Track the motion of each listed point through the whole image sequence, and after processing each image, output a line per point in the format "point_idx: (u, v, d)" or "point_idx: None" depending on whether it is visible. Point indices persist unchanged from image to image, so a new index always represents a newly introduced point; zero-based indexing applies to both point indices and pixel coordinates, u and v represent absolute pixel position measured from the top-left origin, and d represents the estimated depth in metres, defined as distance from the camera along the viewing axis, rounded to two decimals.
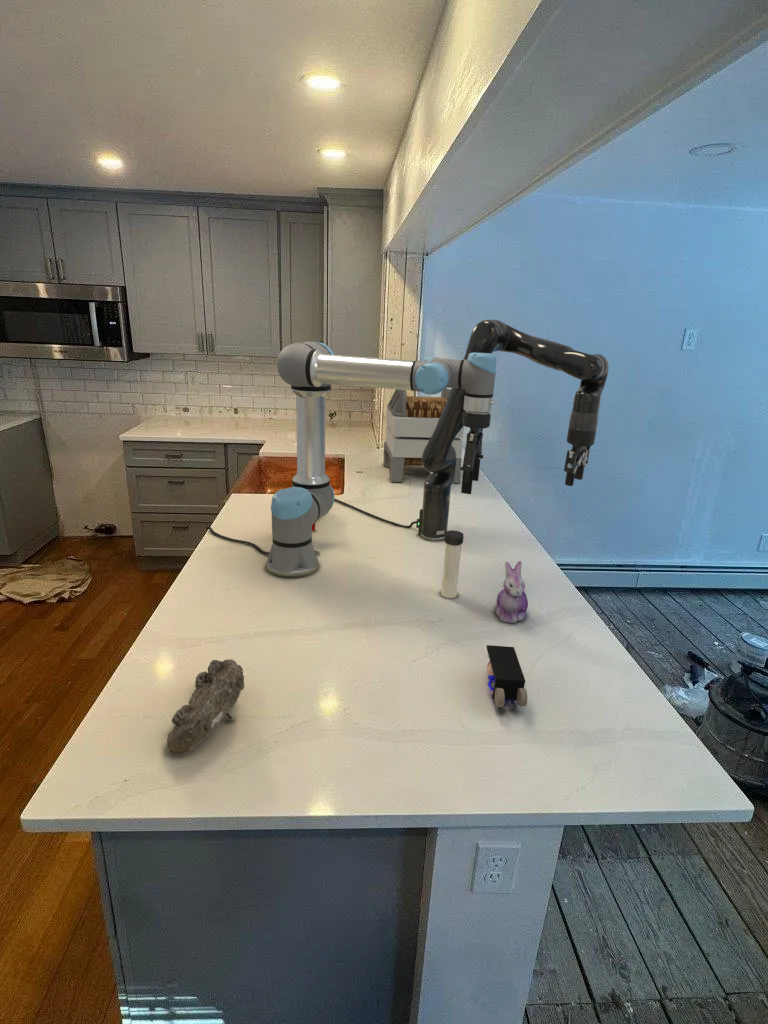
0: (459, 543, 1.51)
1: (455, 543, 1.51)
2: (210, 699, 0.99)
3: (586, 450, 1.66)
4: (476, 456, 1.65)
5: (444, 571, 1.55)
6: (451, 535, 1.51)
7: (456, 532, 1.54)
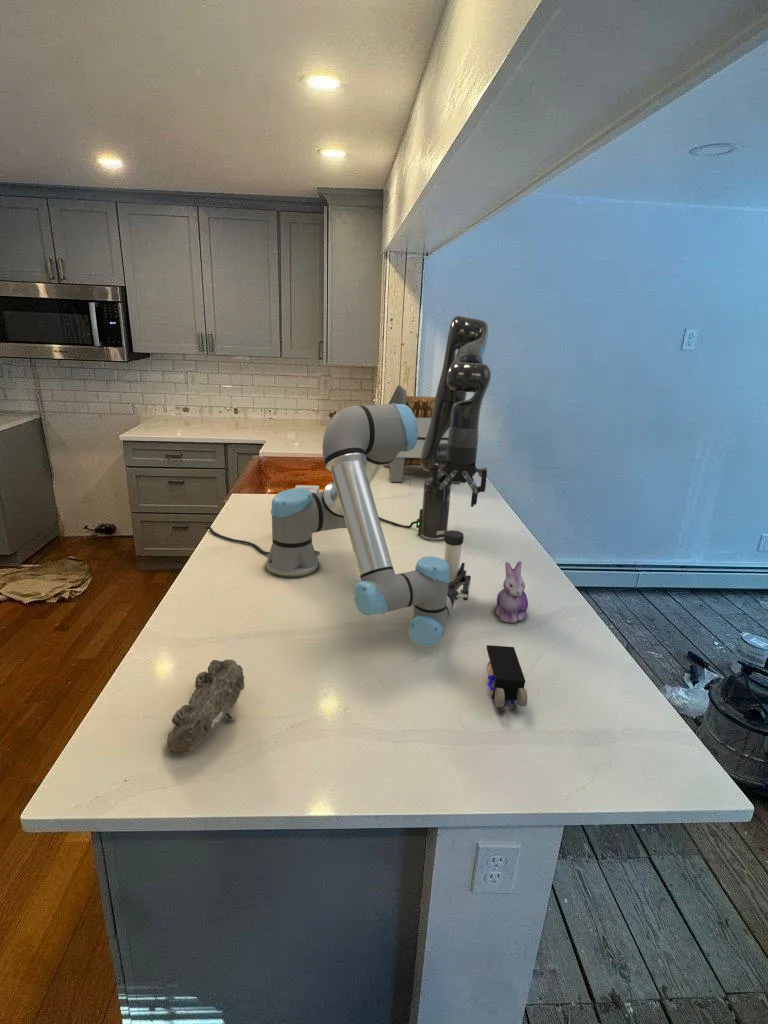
0: (459, 543, 1.51)
1: (455, 543, 1.51)
2: (210, 699, 0.99)
3: (479, 474, 1.45)
4: None
5: None
6: (451, 535, 1.51)
7: (456, 532, 1.54)
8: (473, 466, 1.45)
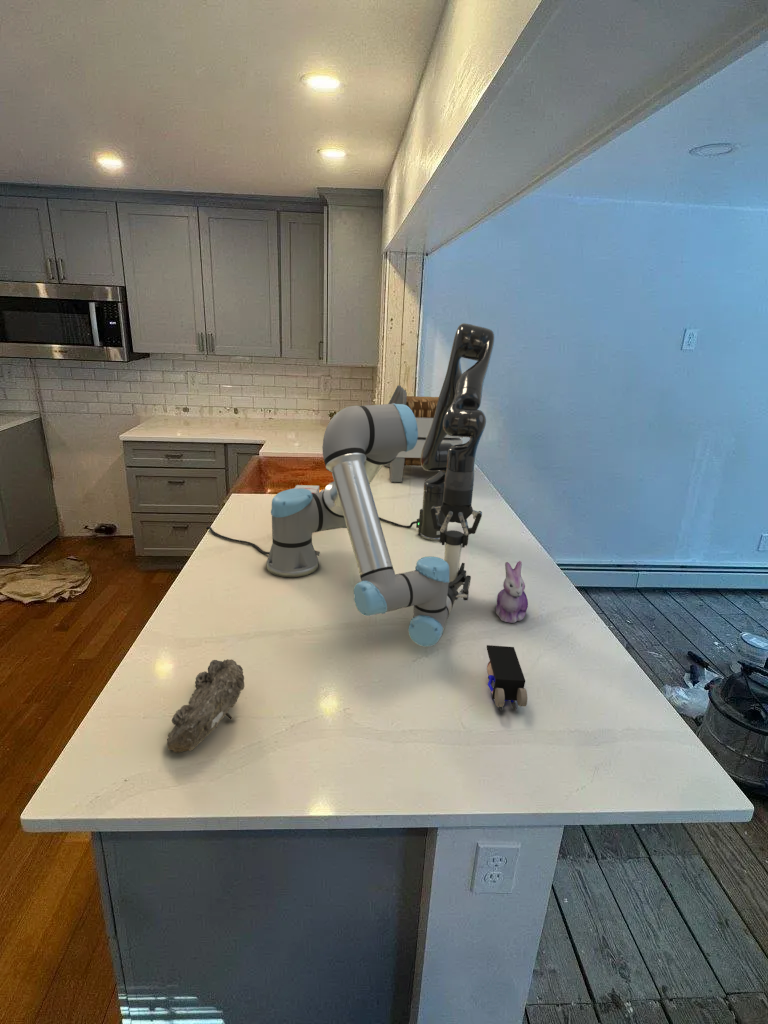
0: (459, 543, 1.51)
1: (455, 543, 1.51)
2: (210, 699, 0.99)
3: (474, 517, 1.49)
4: None
5: None
6: (451, 535, 1.51)
7: (456, 532, 1.54)
8: (469, 507, 1.48)
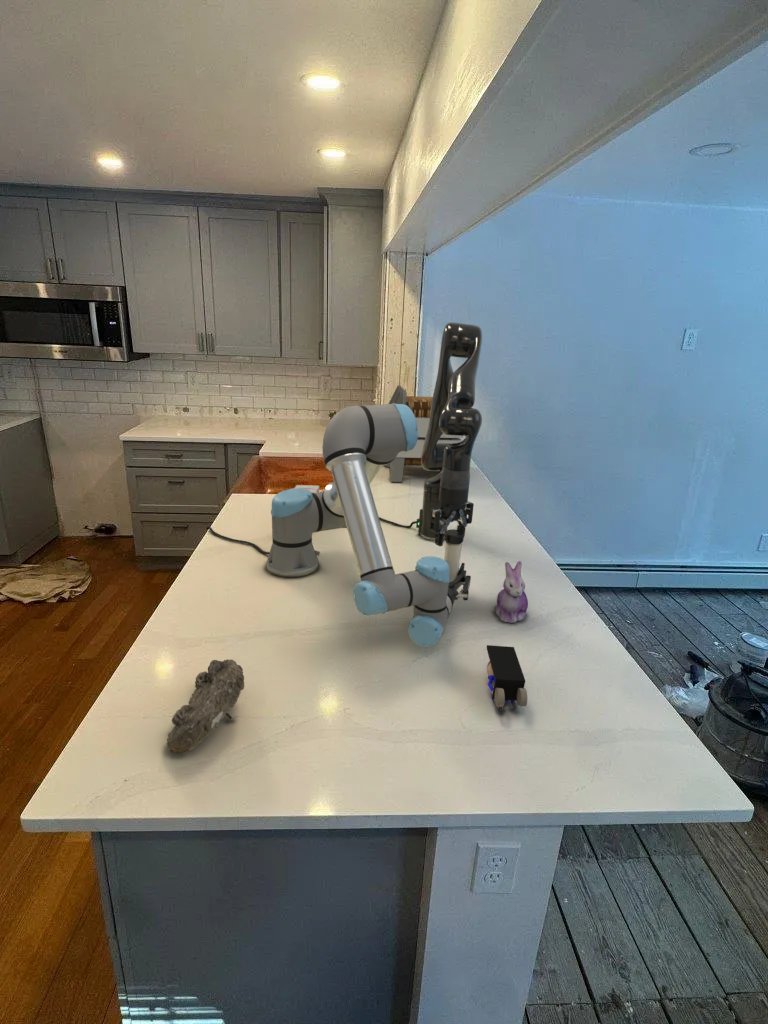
0: None
1: None
2: (210, 699, 0.99)
3: (467, 508, 1.53)
4: None
5: None
6: (460, 534, 1.52)
7: (450, 531, 1.53)
8: None
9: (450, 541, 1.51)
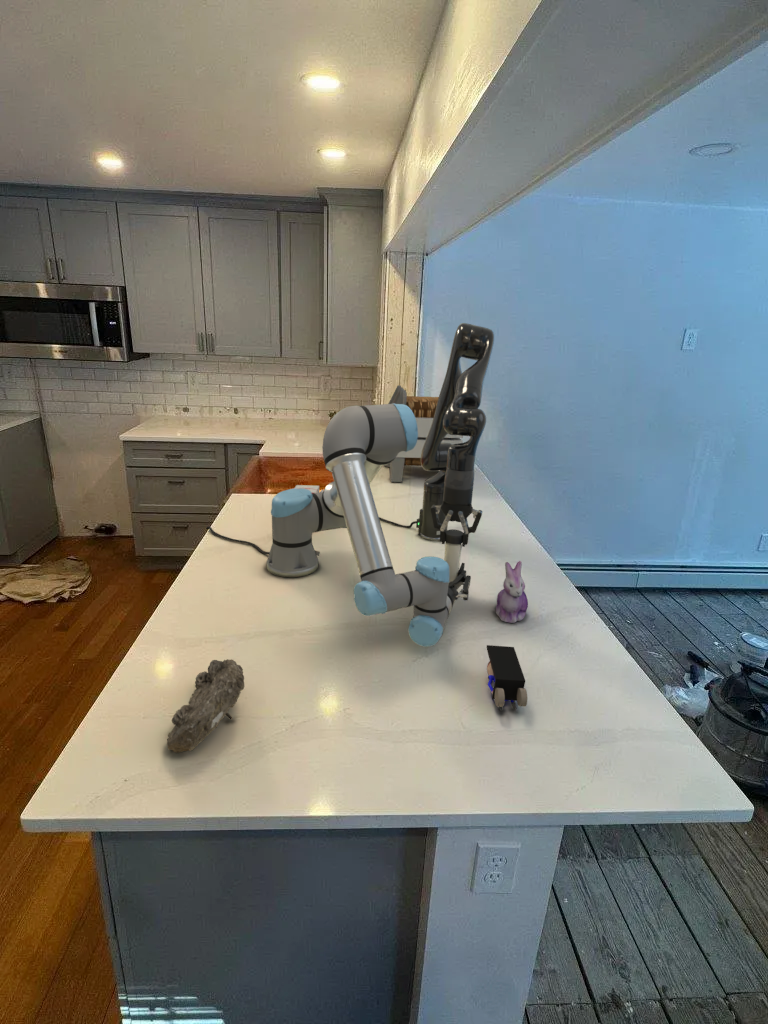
0: None
1: None
2: (210, 699, 0.99)
3: (474, 516, 1.49)
4: None
5: None
6: (460, 534, 1.52)
7: (450, 531, 1.53)
8: (469, 506, 1.48)
9: (450, 541, 1.51)
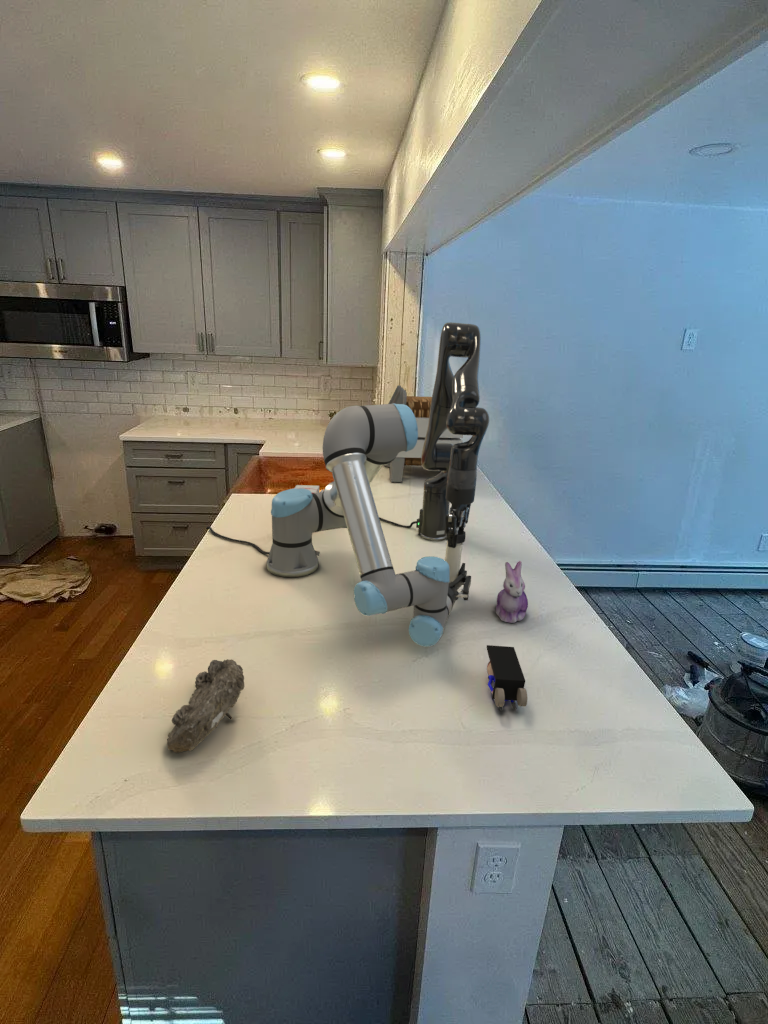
0: None
1: None
2: (210, 699, 0.99)
3: (466, 508, 1.55)
4: None
5: None
6: (460, 530, 1.54)
7: None
8: None
9: (463, 540, 1.52)
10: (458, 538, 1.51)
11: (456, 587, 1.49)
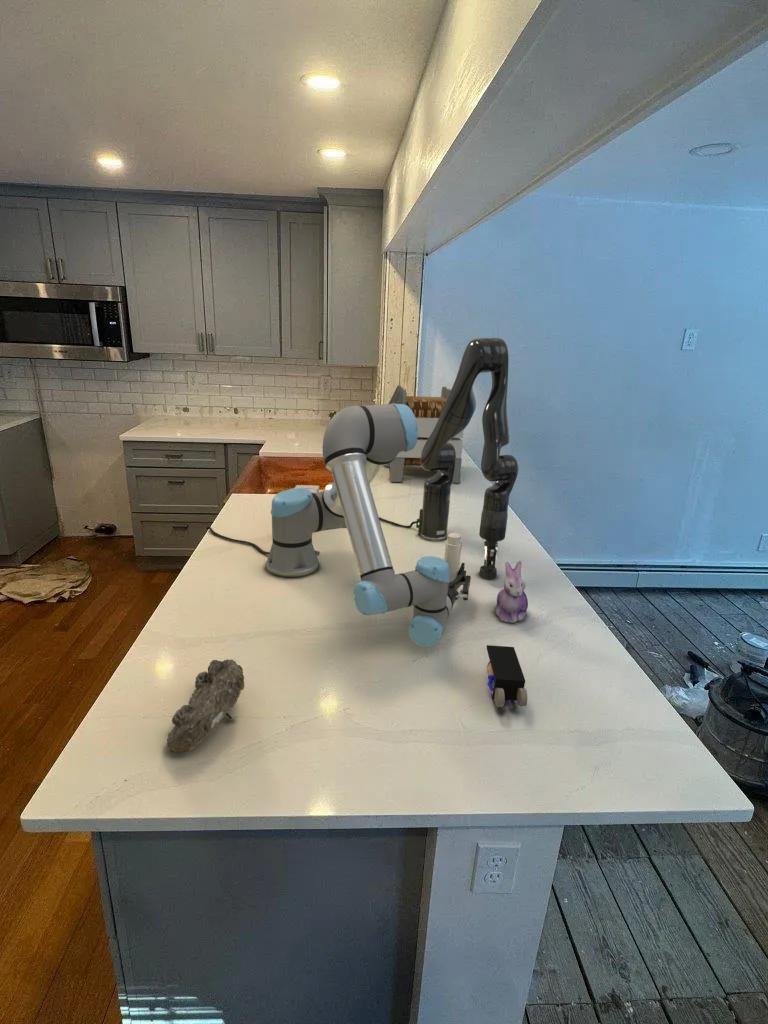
0: None
1: None
2: (210, 699, 0.99)
3: None
4: None
5: None
6: None
7: None
8: None
9: (495, 575, 1.70)
10: (493, 574, 1.69)
11: (456, 587, 1.49)
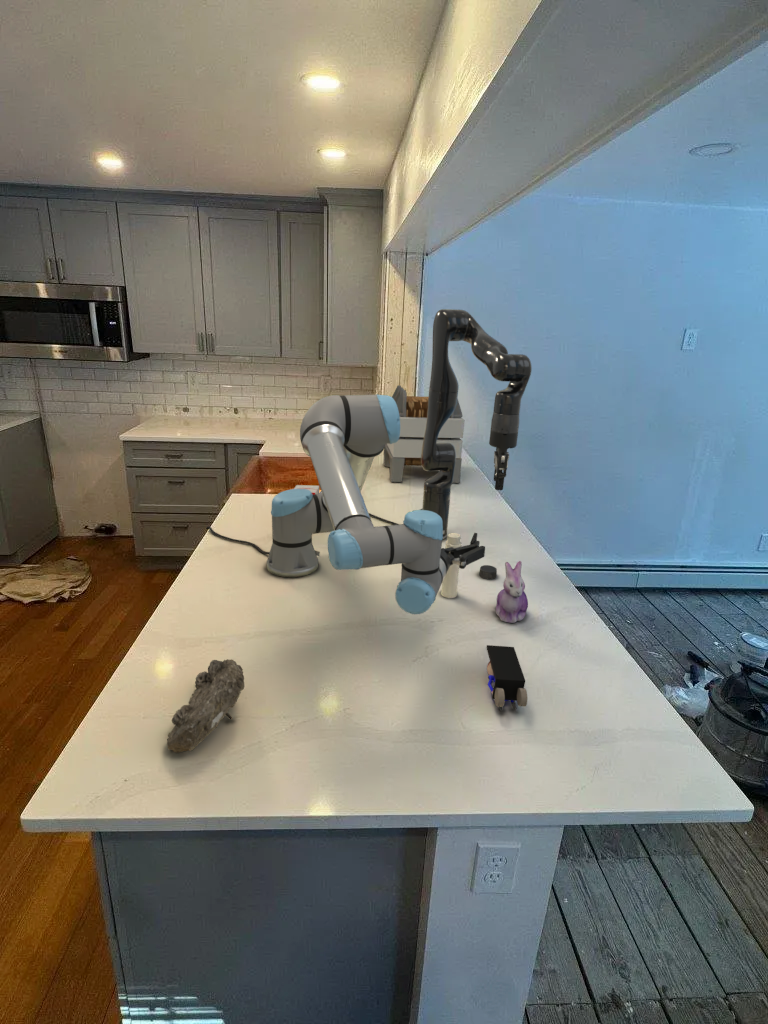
0: None
1: None
2: (210, 699, 0.99)
3: None
4: None
5: None
6: (489, 566, 1.72)
7: (487, 570, 1.69)
8: None
9: (495, 575, 1.70)
10: (493, 574, 1.69)
11: (458, 555, 1.30)
